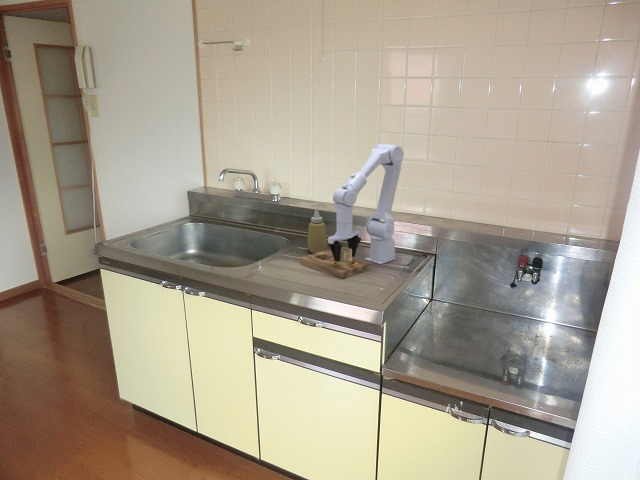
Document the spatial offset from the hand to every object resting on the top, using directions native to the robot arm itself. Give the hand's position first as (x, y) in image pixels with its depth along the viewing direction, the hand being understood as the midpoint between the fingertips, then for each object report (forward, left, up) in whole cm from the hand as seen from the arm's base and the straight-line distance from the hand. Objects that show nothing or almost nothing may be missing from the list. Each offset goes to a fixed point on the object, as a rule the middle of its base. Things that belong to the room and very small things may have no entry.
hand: (344, 258), depth 171 cm
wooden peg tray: (0, -6, -4) cm, 7 cm away
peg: (0, 0, -4) cm, 4 cm away
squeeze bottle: (-8, -24, -5) cm, 26 cm away
